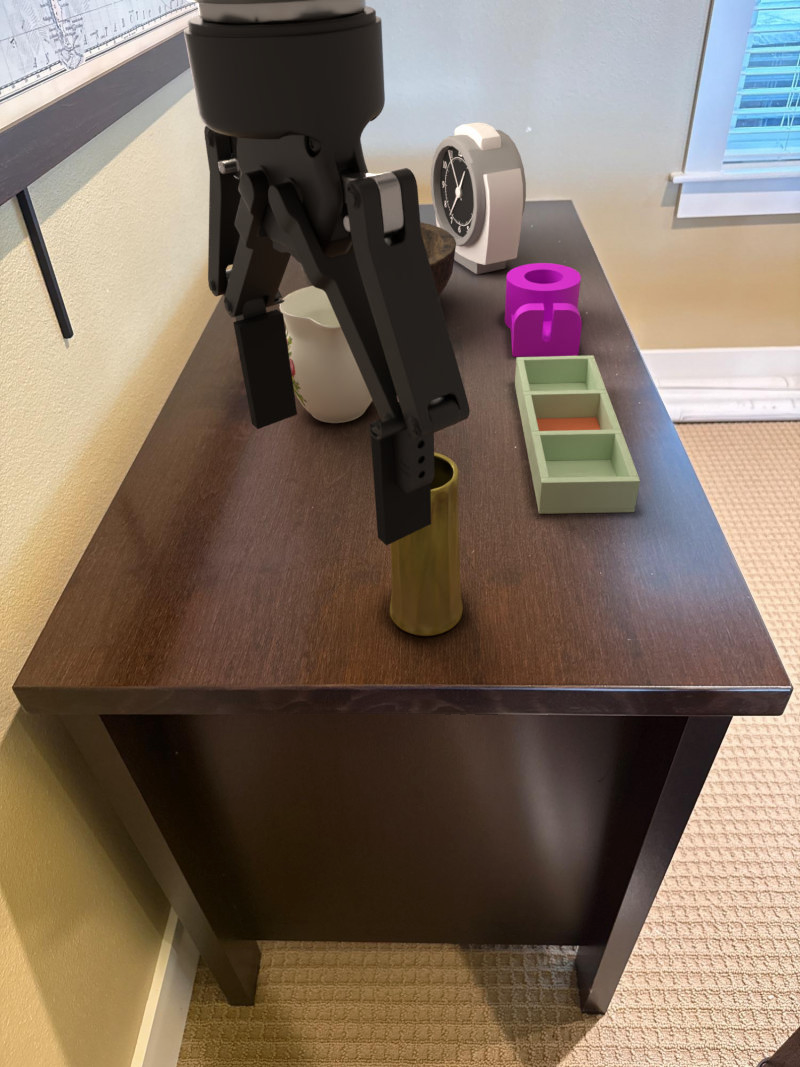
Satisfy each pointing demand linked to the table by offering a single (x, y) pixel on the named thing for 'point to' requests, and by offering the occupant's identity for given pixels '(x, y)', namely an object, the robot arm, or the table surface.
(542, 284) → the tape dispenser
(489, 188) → the alarm clock
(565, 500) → the tray
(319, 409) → the pitcher
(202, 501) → the table surface
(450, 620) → the vase
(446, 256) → the bowl
